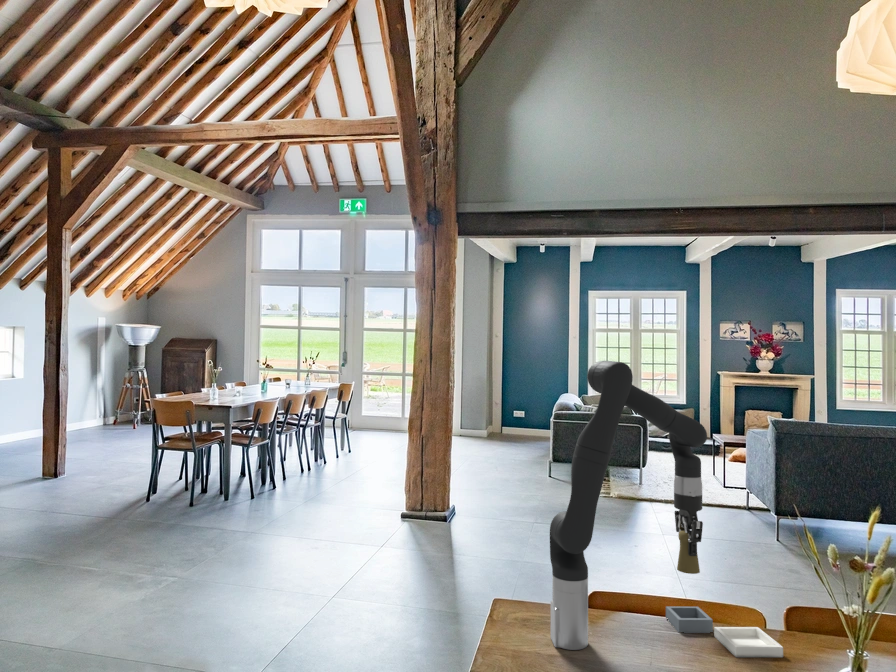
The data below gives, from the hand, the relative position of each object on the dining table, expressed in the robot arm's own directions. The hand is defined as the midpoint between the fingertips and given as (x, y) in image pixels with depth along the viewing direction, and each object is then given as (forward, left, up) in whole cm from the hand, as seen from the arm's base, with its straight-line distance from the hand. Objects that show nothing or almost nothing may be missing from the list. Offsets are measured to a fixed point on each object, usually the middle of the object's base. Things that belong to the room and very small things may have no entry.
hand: (688, 552), depth 174 cm
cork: (0, 0, -5) cm, 5 cm away
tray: (+10, -13, -20) cm, 26 cm away
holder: (0, 0, -20) cm, 20 cm away
